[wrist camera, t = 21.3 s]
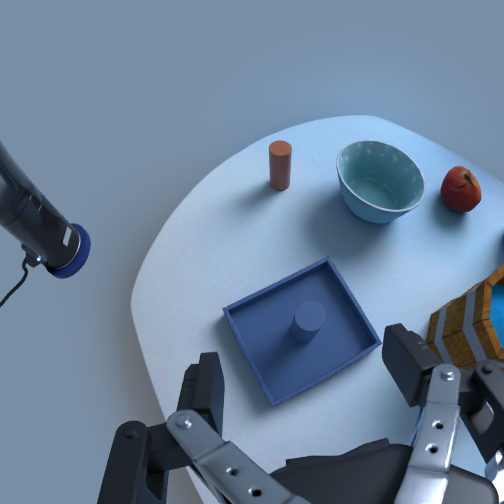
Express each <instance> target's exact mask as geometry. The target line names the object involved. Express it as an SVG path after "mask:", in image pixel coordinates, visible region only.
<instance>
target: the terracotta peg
mask: <svg viewBox="0 0 504 504" xmlns="http://www.w3.org/2000/svg"><path fill="white" fill-rule="evenodd" d="M291 151H292V147H291V145H290V144H289V143H287V142H285V141H275V142H273V143H271V144H270V146H269V164H270V185H271V187H272V188H273V189H275V190H278V191H282V190H285V189H287V188H288V187H289V185H290V170H291Z"/></svg>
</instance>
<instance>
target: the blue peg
mask: <svg viewBox="0 0 504 504" xmlns="http://www.w3.org/2000/svg"><path fill="white" fill-rule="evenodd" d="M325 320H326V312H325V310H324V308H323V306H322V305H321V304H319V303H318V302H315V301H305V302H303V303H301V304H300V305H299V306H298V307H297V309H296V311H295V314H294V317H293V321H292V324H291V328H290V335H291V337H292V339H293V340H294V341H296V342H297V343H301V344H304V343H308V342H310V341H311V340H312V339H313V338H314V336H315V335H316V334H317V333H318V331H319V330H320V329H321V327H322V326H323V324H324V323H325Z"/></svg>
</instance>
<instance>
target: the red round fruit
mask: <svg viewBox="0 0 504 504" xmlns="http://www.w3.org/2000/svg"><path fill="white" fill-rule="evenodd" d="M441 197H442V198H443V200H444V202H445V203H446V205H447V206H448V207H450V208H451V209H453V210H456V211H459V212H469V211H471V210H472V209H473V208H475V206H476V205H477V204H478V203H479V202H480V201H481V189H480V186H479V184H478V182H477V180H476V178H475V177H474V175H473V174H472V173H471V172H470V170H468V169H466V168H464V167H462V166H456V167H454V168H452V169H451V170H450V171H449V172H448V173H447V175H446V176H445V178H444V180H443V183H442V186H441Z"/></svg>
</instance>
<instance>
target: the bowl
mask: <svg viewBox="0 0 504 504" xmlns="http://www.w3.org/2000/svg"><path fill="white" fill-rule="evenodd" d="M337 172H338V177H339V182H340V186H341V190H342V194H343V198H344V201H345V203H346V205H347V206H348V208H349V209H350V210H351V211H352V212H353V213H354V214H355V215H356V216H358V217H359V218H361V219H363V220H365V221H368V222H371V223H379V224H381V223H387V222H390V221H392V220H394V219H396V218H398V217H400V216H402V215H404V214H405V213H407V212H409V211H410V210H412V209H414V208H415V207H416V206H418V205H419V204H420V203H421V201H422V200H423V198H424V195H425V190H426V185H425V180H424V176H423V174H422V172H421V170H420V168H419V167H418V165H417V164H416V163H415V162H414V161H413V160H412V159H411V158H410V157H409V156H408V155H407V154H406V153H404V152H403V151H402V150H400V149H398V148H397V147H395V146H393V145H390V144H388V143H385V142H381V141H376V140H358V141H354V142H351V143H349V144H348V145H346V146H345V147H344V148H343V149H342V150H341V151H340V152H339V154H338V157H337Z"/></svg>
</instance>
